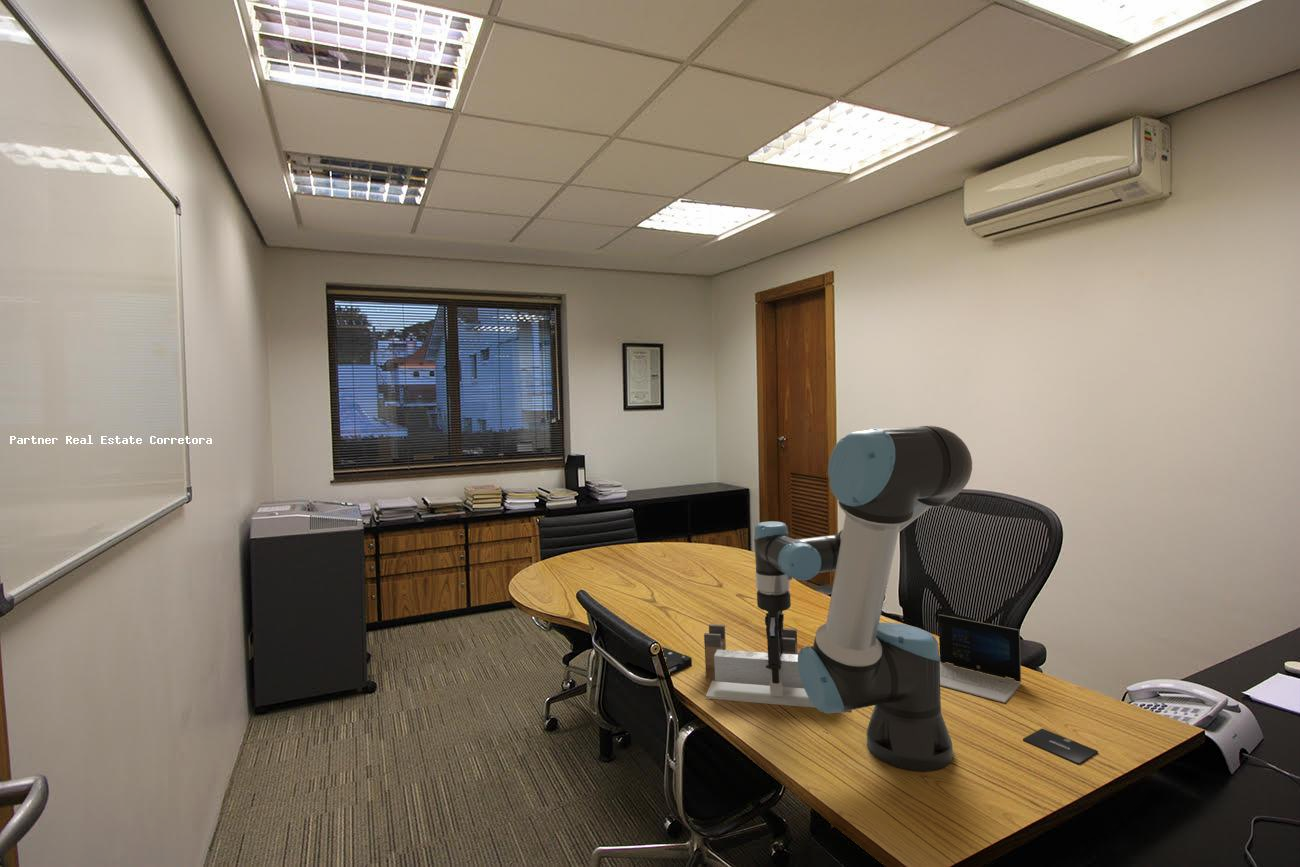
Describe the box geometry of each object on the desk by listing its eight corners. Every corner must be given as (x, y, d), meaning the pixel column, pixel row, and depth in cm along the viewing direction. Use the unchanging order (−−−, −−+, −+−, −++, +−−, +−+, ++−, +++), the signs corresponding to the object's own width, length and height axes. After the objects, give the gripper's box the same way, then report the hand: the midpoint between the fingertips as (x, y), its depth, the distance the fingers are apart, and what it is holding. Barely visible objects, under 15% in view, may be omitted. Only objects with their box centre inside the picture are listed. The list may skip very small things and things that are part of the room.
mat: (851, 711, 132) (851, 708, 132) (705, 698, 141) (705, 695, 141) (850, 694, 140) (850, 691, 140) (712, 683, 149) (712, 680, 149)
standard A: (797, 685, 146) (795, 639, 145) (779, 683, 147) (777, 638, 146) (798, 672, 153) (796, 628, 152) (782, 671, 154) (780, 628, 153)
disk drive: (693, 667, 160) (654, 652, 171) (692, 657, 160) (653, 642, 171) (664, 680, 153) (626, 664, 164) (664, 669, 153) (625, 653, 164)
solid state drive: (1042, 731, 122) (1042, 728, 121) (1099, 754, 113) (1098, 751, 113) (1022, 742, 118) (1021, 738, 118) (1079, 767, 109) (1079, 763, 109)
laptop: (920, 682, 145) (918, 628, 144) (940, 665, 154) (938, 613, 153) (1005, 705, 132) (1003, 646, 132) (1021, 685, 141) (1020, 629, 141)
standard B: (722, 679, 151) (720, 635, 150) (706, 678, 152) (704, 634, 152) (726, 667, 158) (724, 625, 157) (711, 666, 159) (709, 624, 158)
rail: (840, 691, 135) (839, 664, 135) (715, 681, 143) (714, 656, 142) (840, 683, 139) (839, 657, 138) (718, 674, 147) (717, 649, 146)
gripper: (787, 602, 131) (792, 710, 131) (792, 580, 147) (796, 675, 148) (752, 601, 133) (756, 706, 134) (760, 579, 149) (764, 673, 150)
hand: (777, 690), depth 141 cm, fingers closed on rail, 4 cm apart
